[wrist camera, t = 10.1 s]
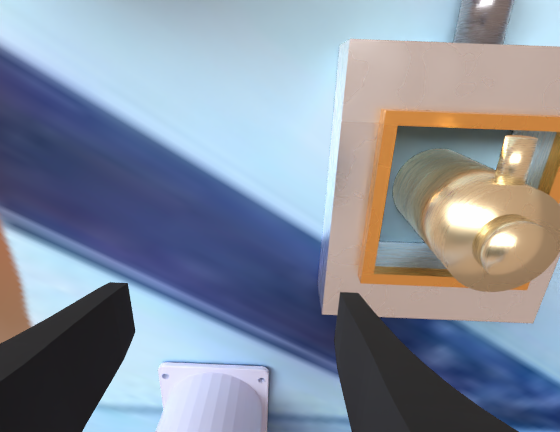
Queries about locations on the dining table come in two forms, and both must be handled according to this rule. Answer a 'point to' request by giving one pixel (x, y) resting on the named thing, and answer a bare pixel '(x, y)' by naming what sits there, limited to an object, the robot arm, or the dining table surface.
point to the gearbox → (430, 113)
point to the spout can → (481, 215)
